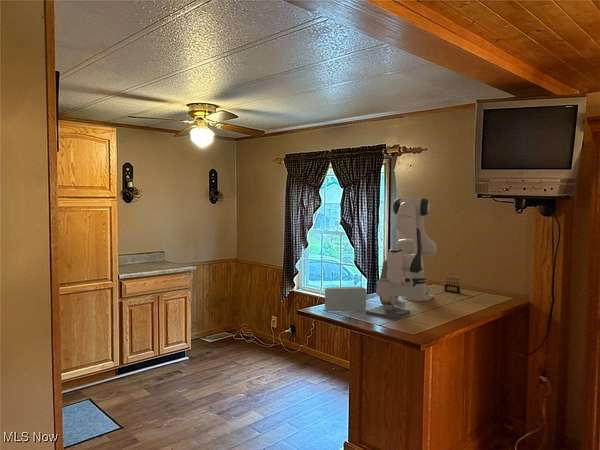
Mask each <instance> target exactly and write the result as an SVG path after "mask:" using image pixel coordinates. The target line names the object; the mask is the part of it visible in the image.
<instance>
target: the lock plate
mask: <svg viewBox="0 0 600 450" xmlns="http://www.w3.org/2000/svg"><path fill="white" fill-rule="evenodd" d="M410 314H411V310H410V309H405V308H401V307H395V306H393V305H392V304H385V306H384V305H383V304H382V305H379V306H375V307H373V308H370V309H368V310H365V315H367V316H371V317H377V318H382V319H387V320H391V321H396V320H399V319H402V318H404V317H406V316H410Z"/></svg>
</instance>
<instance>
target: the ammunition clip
mask: <svg viewBox="0 0 600 450" xmlns="http://www.w3.org/2000/svg"><path fill="white" fill-rule="evenodd" d="M443 288H444V292H445V293H452V294H453V293H454V294H461V277H460V276H457V275H456V276H455V275H450V274H448V275H447V274H445V279H444V287H443Z"/></svg>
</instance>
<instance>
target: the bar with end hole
mask: <svg viewBox="0 0 600 450" xmlns="http://www.w3.org/2000/svg"><path fill="white" fill-rule="evenodd" d="M324 289H325V290H324V309H325V311H327V312H328V311H343V312H360V311H361V312H364V311H366V309H367V289H366V288H365V287H363V286H362V285H361V286H360V285H359V286H334V287H333V286H332V287H331V286H329V287H326V288H324Z"/></svg>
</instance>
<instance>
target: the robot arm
mask: <svg viewBox="0 0 600 450" xmlns="http://www.w3.org/2000/svg"><path fill="white" fill-rule="evenodd" d="M430 210H431V203H430V201H429V200H428V199H427V198H419V197H406V198H405V197H404V198H401V197H399V198H396V199H395V200H394V201H393V204H392V212H393V213H394V214H395V215H396V219H395V229H396V230H397V232H399V234H401V235H403V236H404V237H407V238H400V239H398V240H397V241H396V243H395V248H391V249H389V250H388V252H387V259H386V260H387V267H388V270H387V279H380V278H379V279H377V281H376V290H375V291H376V292H375V294H376V295H377V296H378V297H380V296H390V298H391V300H392V304H396V303H397V300H399V298H400V297H402V298H403V299H404V300H408V301H414V302H415V301H416V302H420V301H421V302H423V301H424V302H428V301H430V300H432V299H433V298H434V295H433V294H430V292H431V291H430V287H429V286H428V285H427V284H426V281H427V276H425V275H424V274H425V266H424V259H423V257H432V256H434V255H435V254H436V252H437V244H436V242H435V241H434V240H433V239H431V238H430V237H429V236H428V234H427V233H426V229H425V220H424V219H425V218H424V217H425V216H428V214H429V213H430ZM404 272H406V275H404ZM394 296H395V297H396V298H395V299H393V298H394Z"/></svg>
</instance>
